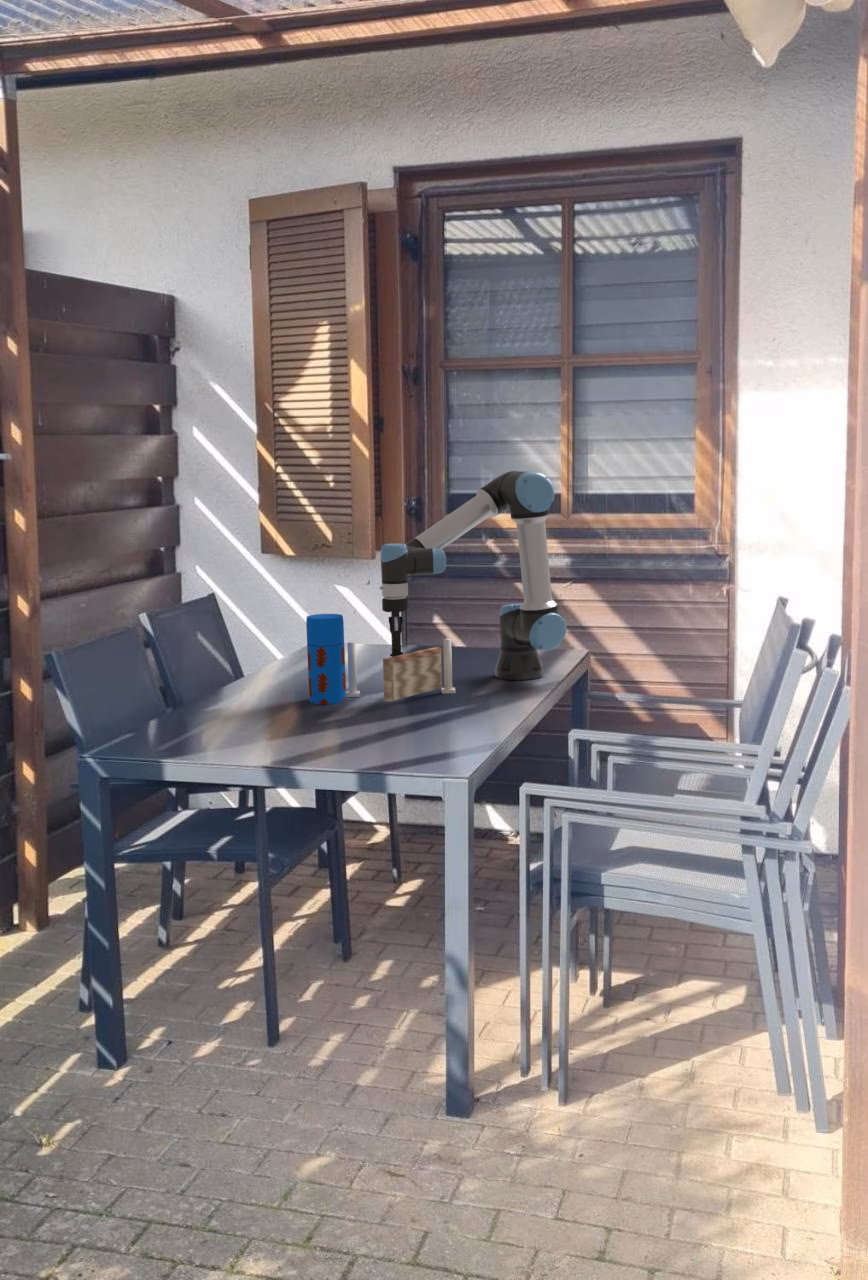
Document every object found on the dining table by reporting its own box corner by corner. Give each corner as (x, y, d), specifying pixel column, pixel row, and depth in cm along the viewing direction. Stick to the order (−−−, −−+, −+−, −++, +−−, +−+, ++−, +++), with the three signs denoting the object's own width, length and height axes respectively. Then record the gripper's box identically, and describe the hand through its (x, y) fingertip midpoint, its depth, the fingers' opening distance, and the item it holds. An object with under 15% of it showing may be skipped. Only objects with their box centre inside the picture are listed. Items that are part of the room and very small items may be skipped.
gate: (438, 687, 413) (437, 646, 411) (443, 688, 411) (442, 647, 410) (384, 701, 395) (382, 658, 393) (389, 701, 393) (388, 659, 392)
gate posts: (454, 690, 415) (453, 638, 412) (455, 693, 411) (454, 640, 408) (346, 694, 413) (344, 641, 411) (346, 697, 409) (344, 643, 407)
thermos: (340, 704, 399) (337, 619, 395) (305, 704, 401) (301, 618, 397) (350, 697, 409) (347, 613, 405) (315, 696, 411) (312, 613, 407)
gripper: (381, 594, 405) (383, 673, 409) (382, 600, 392) (384, 682, 396) (407, 594, 405) (409, 673, 409) (408, 600, 393) (410, 681, 396)
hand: (397, 677), depth 403 cm, fingers closed
